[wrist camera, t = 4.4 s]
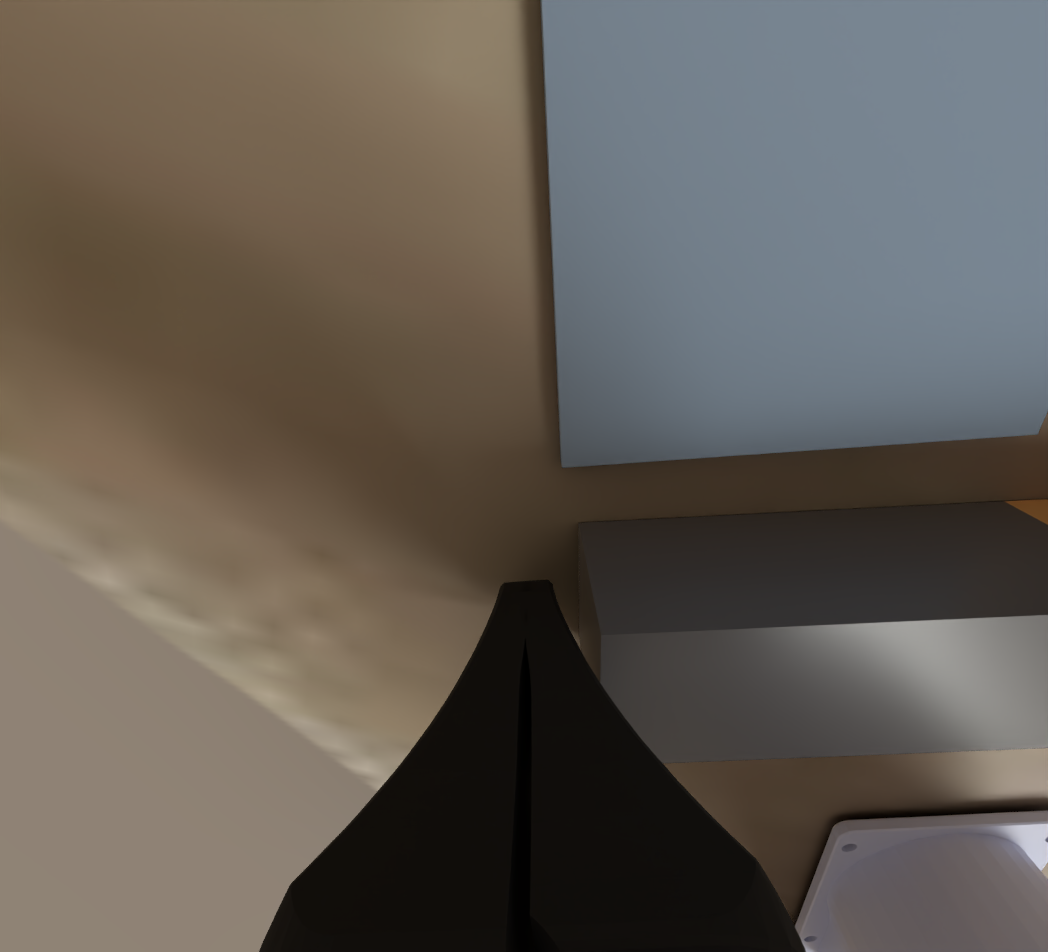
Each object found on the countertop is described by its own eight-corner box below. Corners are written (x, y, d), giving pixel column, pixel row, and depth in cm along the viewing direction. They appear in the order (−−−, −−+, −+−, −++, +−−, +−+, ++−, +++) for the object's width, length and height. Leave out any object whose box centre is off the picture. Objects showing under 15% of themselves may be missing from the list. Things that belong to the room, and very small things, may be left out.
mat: (1019, 427, 10) (1037, 434, 10) (560, 460, 11) (561, 468, 10) (1238, -99, 7) (1279, -119, 6) (538, -29, 7) (540, -43, 7)
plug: (1141, 608, 13) (1356, 735, 9) (579, 634, 13) (598, 765, 10) (1223, 490, 11) (1514, 593, 8) (578, 522, 11) (601, 635, 8)
